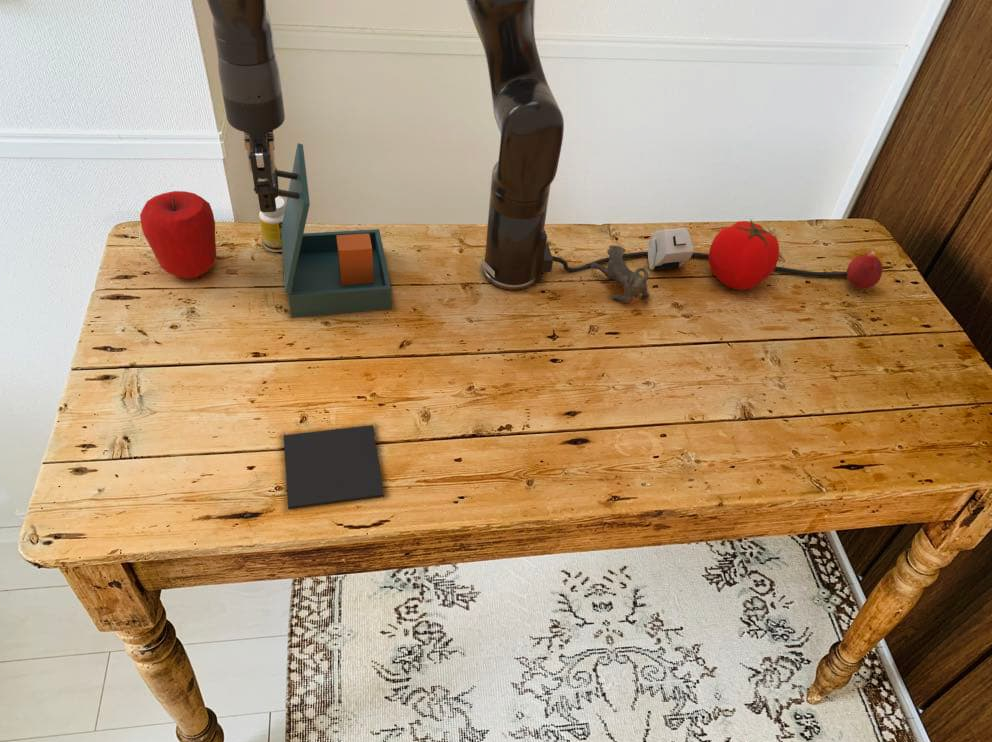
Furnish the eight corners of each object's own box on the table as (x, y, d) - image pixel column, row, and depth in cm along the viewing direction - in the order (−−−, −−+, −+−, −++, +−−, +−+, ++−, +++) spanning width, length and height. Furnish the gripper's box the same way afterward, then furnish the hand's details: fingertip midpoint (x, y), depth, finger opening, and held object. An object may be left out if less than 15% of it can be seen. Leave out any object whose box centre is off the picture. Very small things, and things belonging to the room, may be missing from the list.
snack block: (370, 267, 134) (369, 233, 129) (373, 283, 132) (372, 248, 127) (338, 270, 133) (336, 235, 128) (341, 285, 131) (338, 250, 125)
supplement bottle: (285, 255, 135) (280, 213, 129) (259, 249, 136) (251, 207, 130) (296, 239, 139) (291, 197, 133) (270, 233, 139) (264, 191, 133)
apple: (217, 244, 136) (201, 172, 126) (230, 281, 130) (215, 209, 120) (150, 255, 132) (129, 183, 122) (160, 294, 126) (139, 221, 116)
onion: (874, 284, 147) (893, 249, 141) (869, 302, 144) (889, 266, 138) (842, 273, 149) (860, 238, 143) (837, 291, 145) (855, 255, 139)
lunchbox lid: (303, 144, 122) (265, 136, 119) (309, 203, 112) (269, 196, 109) (285, 232, 132) (251, 227, 130) (290, 294, 122) (253, 289, 120)
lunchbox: (379, 249, 139) (379, 229, 136) (391, 309, 129) (391, 288, 126) (286, 255, 136) (283, 234, 132) (291, 317, 126) (288, 296, 122)
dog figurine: (653, 304, 137) (663, 270, 131) (625, 313, 134) (634, 278, 129) (614, 263, 143) (622, 229, 138) (587, 271, 141) (594, 236, 136)
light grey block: (644, 273, 145) (668, 261, 136) (639, 237, 145) (662, 222, 136) (674, 270, 147) (700, 258, 137) (668, 234, 147) (694, 220, 137)
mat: (373, 426, 112) (372, 424, 112) (383, 496, 105) (383, 494, 105) (283, 436, 110) (283, 434, 109) (288, 508, 102) (288, 507, 102)
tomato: (708, 297, 140) (726, 245, 131) (697, 256, 147) (714, 204, 139) (774, 302, 141) (797, 250, 133) (760, 261, 148) (780, 210, 140)
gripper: (283, 114, 102) (297, 221, 114) (278, 61, 111) (291, 166, 123) (221, 115, 100) (241, 224, 112) (221, 62, 109) (240, 168, 121)
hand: (267, 193), depth 118 cm, fingers open, 8 cm apart
